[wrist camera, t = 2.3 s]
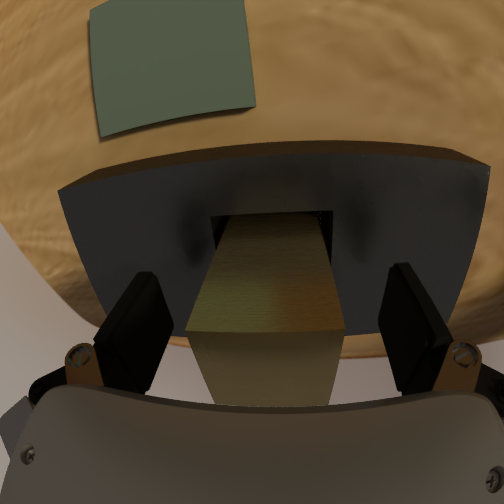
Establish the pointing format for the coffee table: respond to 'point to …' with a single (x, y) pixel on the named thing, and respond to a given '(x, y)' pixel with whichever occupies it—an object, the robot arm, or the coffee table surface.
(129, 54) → the green mat
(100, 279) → the dark square-hole plate
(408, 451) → the robot arm
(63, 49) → the coffee table surface
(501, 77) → the coffee table surface
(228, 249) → the brass plug
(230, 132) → the coffee table surface
